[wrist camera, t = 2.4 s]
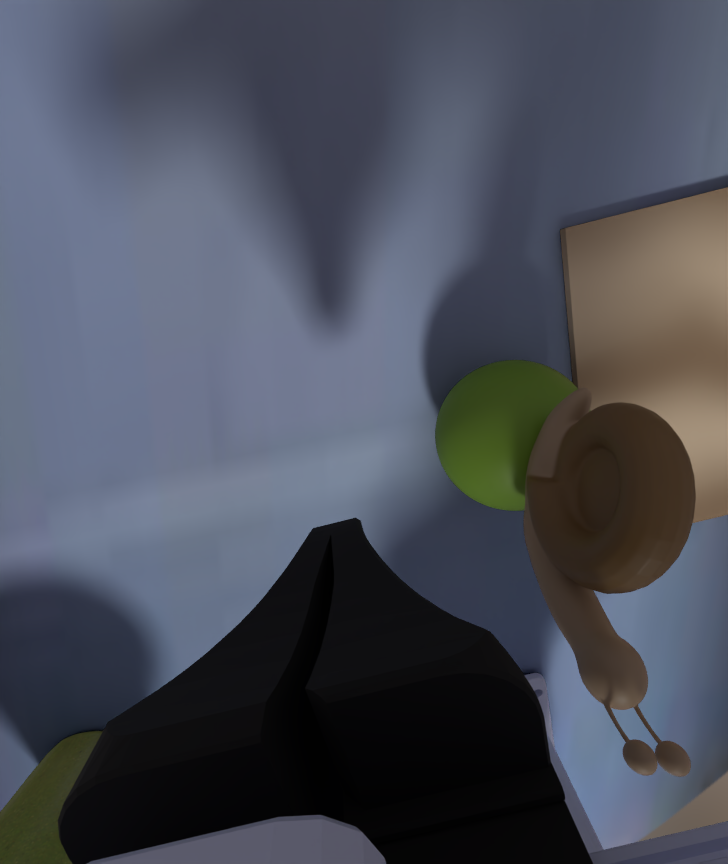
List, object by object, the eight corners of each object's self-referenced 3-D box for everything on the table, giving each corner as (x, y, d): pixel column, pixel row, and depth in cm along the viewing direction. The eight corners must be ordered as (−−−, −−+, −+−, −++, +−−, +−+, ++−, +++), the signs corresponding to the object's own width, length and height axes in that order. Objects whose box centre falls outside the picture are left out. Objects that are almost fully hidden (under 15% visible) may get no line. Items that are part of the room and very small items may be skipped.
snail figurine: (409, 488, 19) (519, 780, 7) (435, 343, 17) (634, 435, 6) (525, 499, 19) (794, 788, 8) (562, 360, 18) (985, 475, 6)
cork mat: (833, 483, 20) (843, 487, 20) (586, 542, 20) (591, 547, 20) (874, 150, 16) (888, 146, 15) (560, 229, 16) (565, 228, 16)
